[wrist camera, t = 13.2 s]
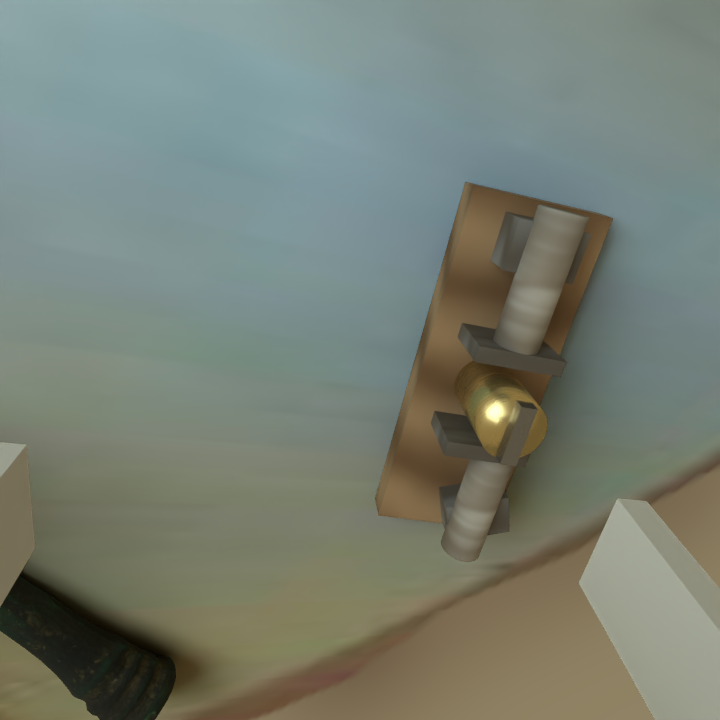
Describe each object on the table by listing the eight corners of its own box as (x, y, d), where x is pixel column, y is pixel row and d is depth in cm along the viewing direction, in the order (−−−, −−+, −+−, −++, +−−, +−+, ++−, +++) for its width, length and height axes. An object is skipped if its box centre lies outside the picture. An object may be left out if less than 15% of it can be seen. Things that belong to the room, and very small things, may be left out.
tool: (191, 649, 48) (176, 725, 42) (135, 686, 49) (113, 765, 43) (-92, 437, 38) (-166, 497, 32) (-155, 489, 39) (-238, 556, 33)
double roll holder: (465, 182, 34) (496, 194, 29) (597, 213, 36) (650, 230, 30) (375, 498, 43) (385, 554, 38) (483, 512, 45) (508, 567, 39)
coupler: (463, 352, 37) (496, 401, 30) (520, 362, 37) (563, 412, 31) (447, 405, 38) (475, 462, 32) (501, 414, 39) (539, 471, 33)
